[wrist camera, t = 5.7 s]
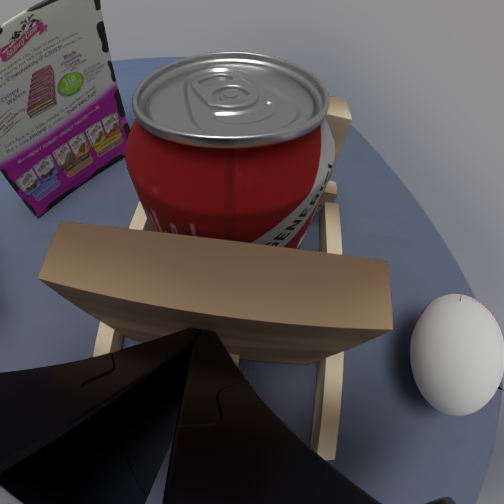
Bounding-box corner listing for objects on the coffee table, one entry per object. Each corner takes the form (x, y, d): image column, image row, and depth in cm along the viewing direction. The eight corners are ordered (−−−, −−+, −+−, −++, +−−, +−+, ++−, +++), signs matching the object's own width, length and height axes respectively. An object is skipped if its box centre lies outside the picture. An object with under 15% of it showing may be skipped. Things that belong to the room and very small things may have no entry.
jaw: (294, 478, 11) (360, 556, 3) (116, 450, 11) (13, 484, 3) (309, 330, 15) (387, 260, 7) (139, 307, 15) (60, 221, 7)
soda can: (203, 339, 15) (131, 209, 4) (162, 245, 17) (103, 75, 7) (304, 290, 17) (399, 129, 6) (253, 208, 19) (272, 40, 9)
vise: (325, 454, 12) (417, 502, 4) (95, 418, 12) (-14, 422, 4) (330, 194, 20) (370, 97, 12) (160, 175, 20) (137, 75, 12)
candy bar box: (117, 129, 23) (85, -16, 9) (137, 150, 22) (101, -24, 7) (28, 191, 19) (-42, 58, 5) (36, 221, 18) (-56, 68, 3)
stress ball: (475, 366, 14) (539, 344, 8) (411, 435, 12) (484, 440, 6) (437, 288, 17) (495, 246, 11) (364, 344, 15) (431, 313, 9)
